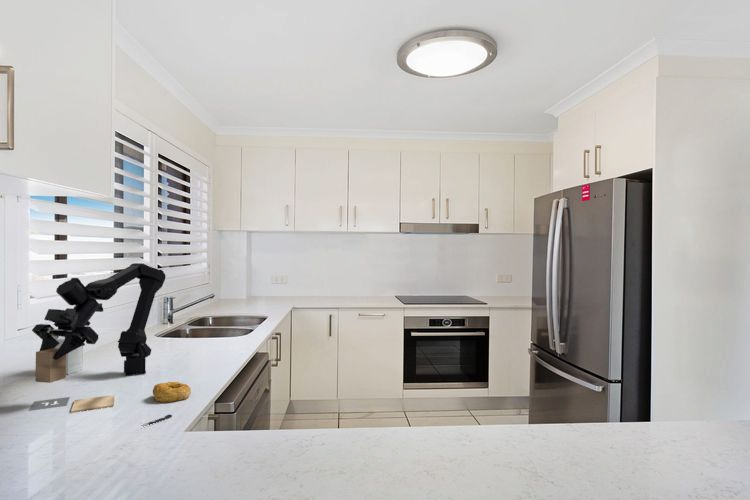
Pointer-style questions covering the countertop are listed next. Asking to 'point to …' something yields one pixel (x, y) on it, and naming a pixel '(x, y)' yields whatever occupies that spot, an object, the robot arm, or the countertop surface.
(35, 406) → the gray mat
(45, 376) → the walnut block
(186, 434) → the countertop surface
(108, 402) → the coaster
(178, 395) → the bagel
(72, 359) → the supplement box
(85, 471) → the countertop surface
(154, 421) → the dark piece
